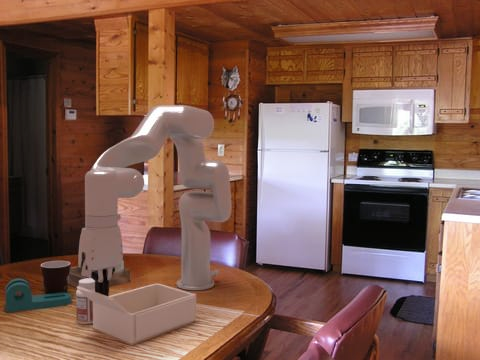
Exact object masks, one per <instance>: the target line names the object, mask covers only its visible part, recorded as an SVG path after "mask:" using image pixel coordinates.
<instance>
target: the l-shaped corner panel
mask: <svg viewBox="0 0 480 360" xmlns="http://www.w3.org/2000/svg"><path fill="white" fill-rule="evenodd" d="M124 265H125V261H124V260H122V263H121V268H120V269H119V270H117V271H115V272H119V271H123V270H124V268H125V266H124ZM115 272H114V273H115ZM88 278H91V277H88Z"/></svg>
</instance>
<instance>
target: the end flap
mask: <svg viewBox="0 0 480 360" xmlns="http://www.w3.org/2000/svg"><path fill="white" fill-rule="evenodd" d="M76 289H77V290H79V291H81V292H82V293H83V294H84V295H85V296H86V297H87V298H89V299H90V300H91V301H92V302H95V303H98V304H101V305H103V306H106V307H109V308H111V309H114V310H117V311H119V312H122V313H125V314H128V313H129V312H128V311H127V310H126V309H125V308H124V307H122V306H121V305H120V304H119V303H118V302H117V301H116V300H115V299H114V298H111V297H108V296H105V295H103V294H100V293H97V292H94V291H91V290H88V289H85V288H82V287H80V286H78V287H77V288H76Z"/></svg>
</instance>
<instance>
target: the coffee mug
mask: <svg viewBox="0 0 480 360" xmlns="http://www.w3.org/2000/svg"><path fill="white" fill-rule="evenodd" d="M70 268H71V262H70V261H67V260H52V261H46V262H43V263H41V264H40V270H41V277H42V283H43V291H44V294H52V293H68V289H69V285H68V282H69V273H70Z"/></svg>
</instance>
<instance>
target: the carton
mask: <svg viewBox="0 0 480 360" xmlns="http://www.w3.org/2000/svg"><path fill="white" fill-rule="evenodd" d="M108 297H111V298H114V299H115V300H116V301H117V302H118V303H119V304H120V305H121V306H122V307H124V308H125V309H126V310H127V311H128V312H129V313H128V314H125V313H122V312H119V311H117V310H114V309H111V308H109V307H106V306H103V305H101V304H98V303H95V302H93V323H92V329H93V330H95V332H98V333H101V334H103V335H104V336H108V337H110V338H113V339H115V340H116V341H119V342H122V343H125V344H127V345H129V346H134V345H137V344H139V343H143V342H144V341H148V340H150V339H152V338H153V339H154V338H156V337H158V336H161V335H163V334H166V333H169V332H172V331H174V330H177V329H180V328H182V327H185V326H189V324H193V323H195V322H196V316H197V294H196V293H194V292H189V291H187V290H186V291H185V290H184V289H181V288H175V287H173V286H168V285H165V284H162V283H154V284H153V283H151V284H149V285H144V286H141V287H137V288H134V289H129V290H126V291H123V292H119V293H115V294H112V295H109V296H108Z"/></svg>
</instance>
